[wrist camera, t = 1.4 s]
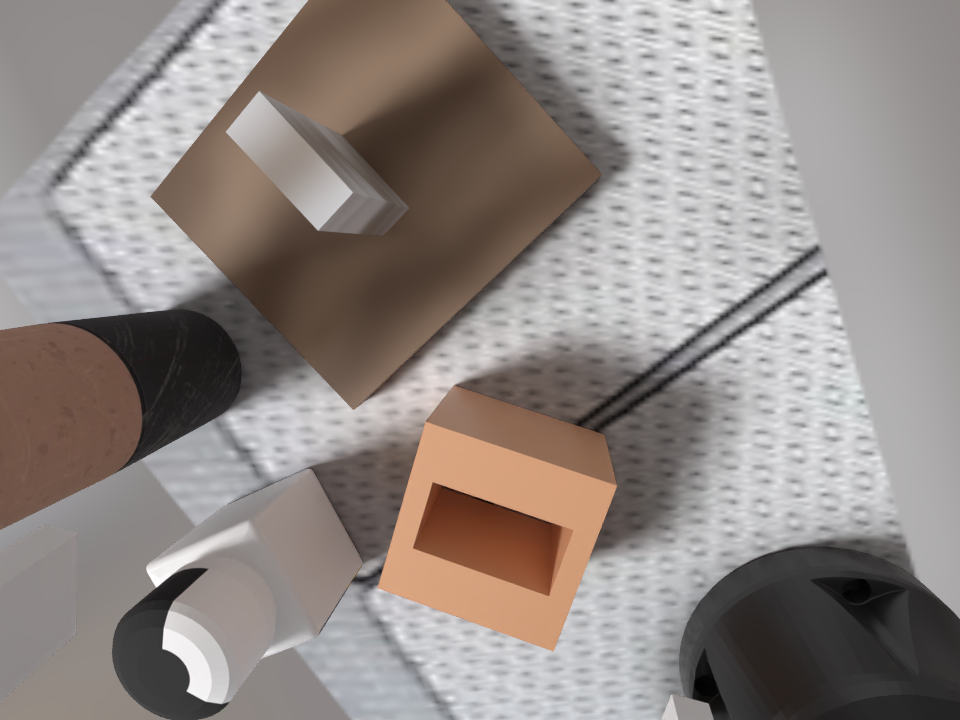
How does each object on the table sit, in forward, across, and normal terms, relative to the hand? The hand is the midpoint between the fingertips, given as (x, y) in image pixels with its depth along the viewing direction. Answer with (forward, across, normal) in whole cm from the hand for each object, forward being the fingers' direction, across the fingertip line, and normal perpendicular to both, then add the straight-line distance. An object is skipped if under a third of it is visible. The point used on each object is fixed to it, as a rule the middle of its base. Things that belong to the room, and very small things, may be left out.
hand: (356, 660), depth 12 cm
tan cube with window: (+20, -3, +5) cm, 21 cm away
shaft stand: (+21, +8, -9) cm, 24 cm away
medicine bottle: (+20, +9, +13) cm, 26 cm away
